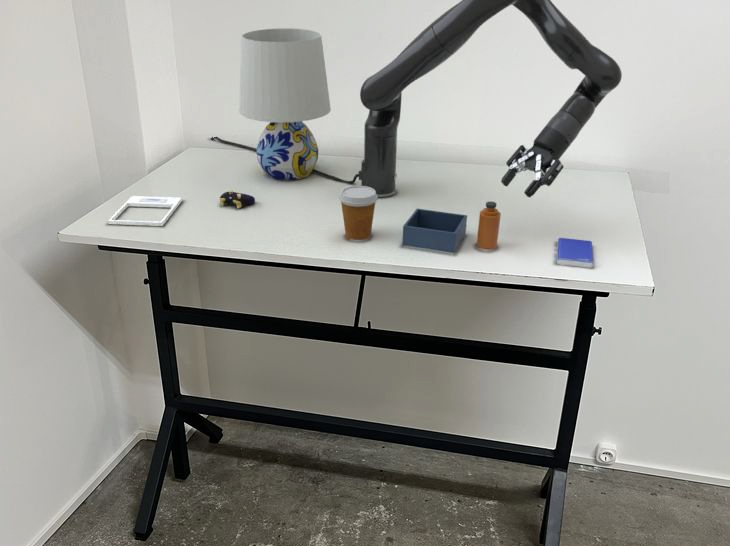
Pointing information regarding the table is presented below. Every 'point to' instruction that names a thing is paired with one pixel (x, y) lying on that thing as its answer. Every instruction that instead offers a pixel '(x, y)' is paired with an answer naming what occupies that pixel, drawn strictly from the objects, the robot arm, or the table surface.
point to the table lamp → (284, 96)
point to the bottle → (488, 227)
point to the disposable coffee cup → (358, 211)
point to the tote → (434, 230)
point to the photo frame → (147, 202)
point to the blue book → (575, 252)
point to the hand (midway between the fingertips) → (514, 189)
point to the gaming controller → (236, 199)
